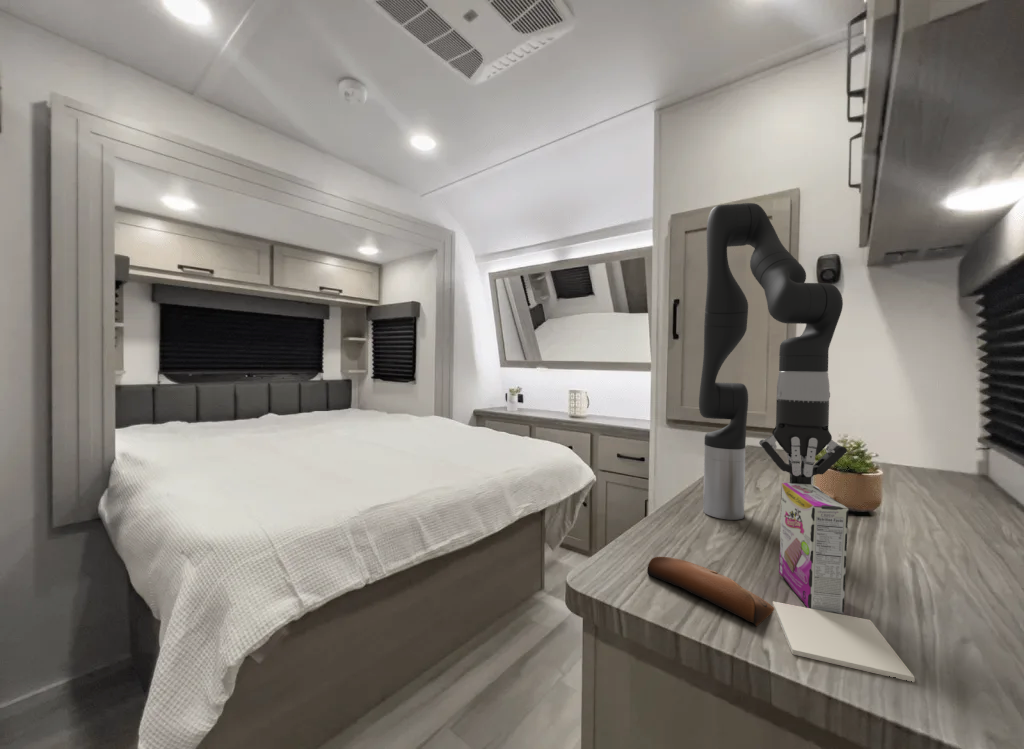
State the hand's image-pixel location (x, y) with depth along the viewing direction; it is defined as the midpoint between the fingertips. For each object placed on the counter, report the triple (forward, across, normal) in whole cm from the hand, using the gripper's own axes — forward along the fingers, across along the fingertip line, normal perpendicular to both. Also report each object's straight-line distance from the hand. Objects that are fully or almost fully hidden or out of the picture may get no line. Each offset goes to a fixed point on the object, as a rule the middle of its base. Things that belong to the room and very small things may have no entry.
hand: (799, 496), depth 72 cm
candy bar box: (+14, 0, +6) cm, 15 cm away
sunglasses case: (+15, +15, +12) cm, 24 cm away
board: (+14, 0, +18) cm, 23 cm away
